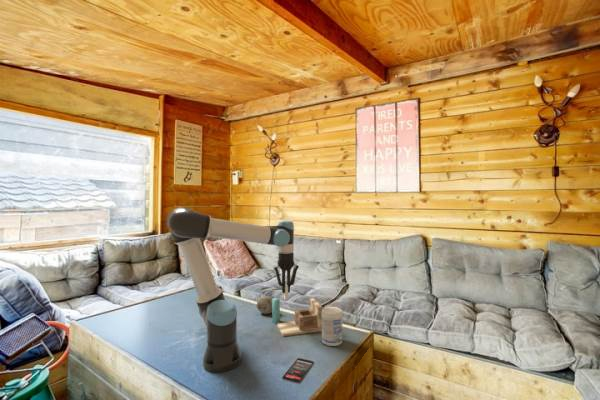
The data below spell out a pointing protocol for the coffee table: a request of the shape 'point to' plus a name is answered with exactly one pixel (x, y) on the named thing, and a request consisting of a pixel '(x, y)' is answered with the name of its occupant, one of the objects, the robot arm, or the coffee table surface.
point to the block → (305, 319)
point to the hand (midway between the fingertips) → (285, 299)
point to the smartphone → (298, 370)
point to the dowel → (275, 310)
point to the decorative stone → (265, 304)
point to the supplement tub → (332, 326)
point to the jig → (293, 329)
